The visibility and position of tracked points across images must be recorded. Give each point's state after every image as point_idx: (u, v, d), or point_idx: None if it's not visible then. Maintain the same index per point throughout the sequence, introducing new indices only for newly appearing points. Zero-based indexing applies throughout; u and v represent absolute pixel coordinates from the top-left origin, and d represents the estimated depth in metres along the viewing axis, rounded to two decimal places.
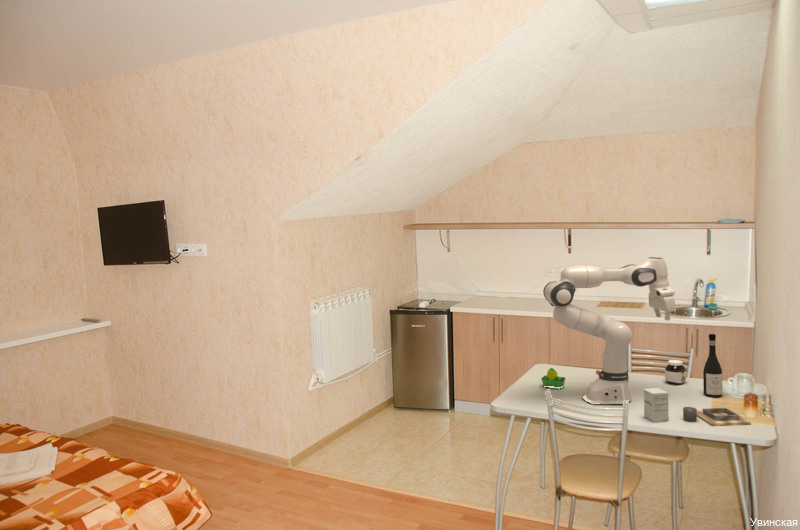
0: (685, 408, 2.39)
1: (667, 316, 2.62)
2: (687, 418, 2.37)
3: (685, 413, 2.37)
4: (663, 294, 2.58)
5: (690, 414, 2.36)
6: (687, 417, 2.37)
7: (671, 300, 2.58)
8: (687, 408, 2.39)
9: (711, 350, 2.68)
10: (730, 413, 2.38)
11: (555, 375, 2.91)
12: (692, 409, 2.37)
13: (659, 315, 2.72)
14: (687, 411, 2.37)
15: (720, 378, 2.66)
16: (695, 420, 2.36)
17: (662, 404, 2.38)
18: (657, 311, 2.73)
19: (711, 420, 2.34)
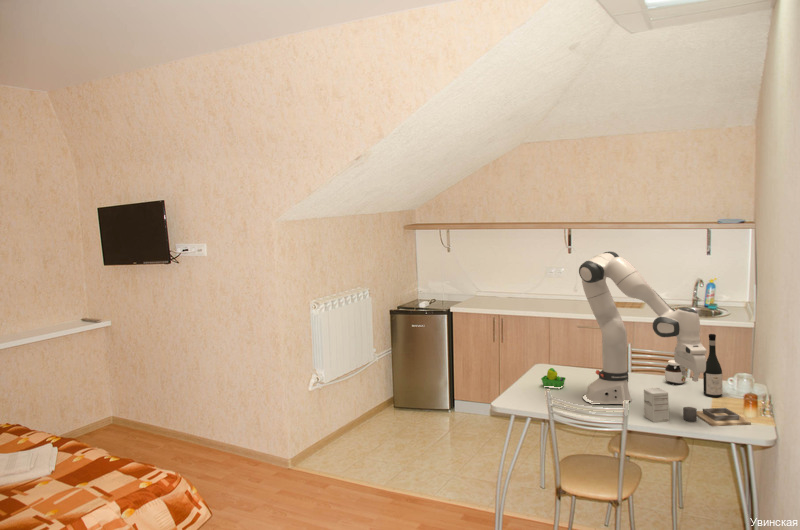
0: (685, 408, 2.39)
1: (695, 377, 2.32)
2: (687, 418, 2.37)
3: (685, 413, 2.37)
4: (694, 352, 2.28)
5: (690, 414, 2.36)
6: (687, 418, 2.37)
7: (702, 360, 2.27)
8: (687, 408, 2.39)
9: (711, 350, 2.68)
10: (730, 413, 2.38)
11: (555, 375, 2.91)
12: (692, 409, 2.37)
13: (685, 373, 2.41)
14: (687, 411, 2.37)
15: (720, 378, 2.66)
16: (695, 420, 2.36)
17: (662, 404, 2.38)
18: (683, 369, 2.42)
19: (711, 420, 2.34)
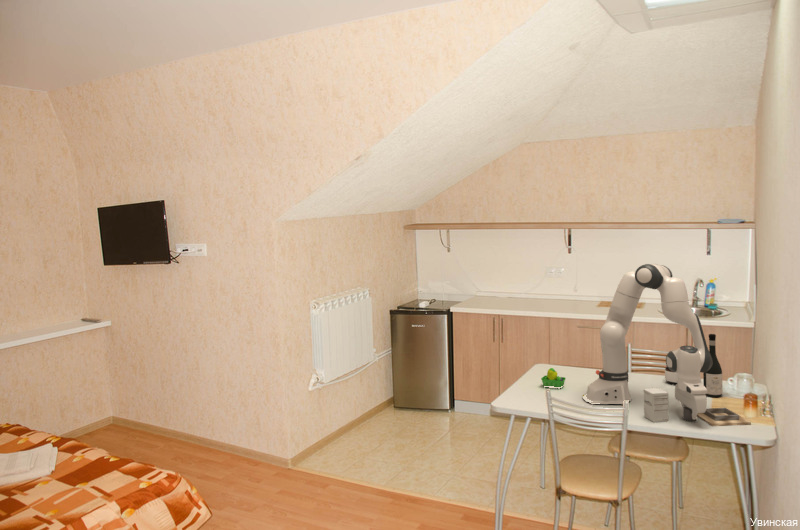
0: (685, 408, 2.39)
1: (694, 415, 2.34)
2: (687, 418, 2.37)
3: (685, 413, 2.37)
4: (694, 392, 2.29)
5: (690, 414, 2.36)
6: (687, 417, 2.37)
7: (703, 400, 2.28)
8: (687, 408, 2.39)
9: (711, 350, 2.68)
10: (730, 413, 2.38)
11: (555, 375, 2.91)
12: None
13: None
14: (687, 411, 2.37)
15: (720, 378, 2.66)
16: (695, 420, 2.36)
17: (662, 404, 2.38)
18: None
19: (711, 420, 2.34)
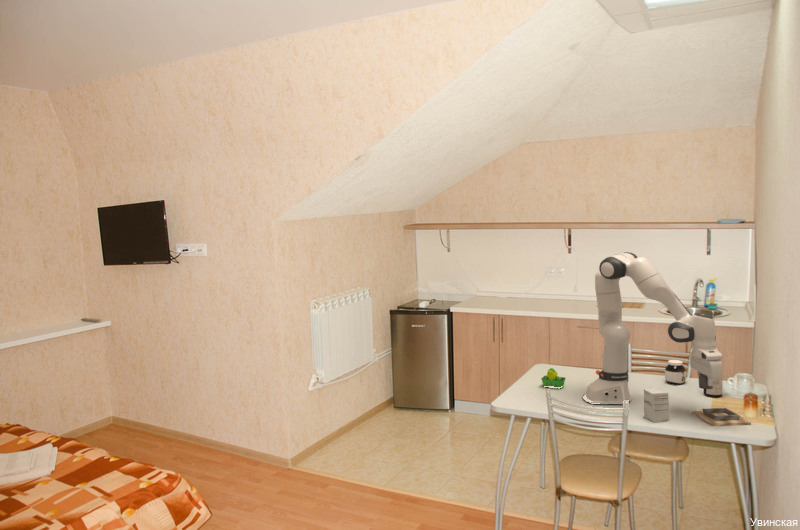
0: (700, 375, 2.37)
1: (710, 381, 2.32)
2: (703, 385, 2.35)
3: (701, 380, 2.36)
4: (709, 358, 2.28)
5: (706, 381, 2.34)
6: (703, 384, 2.35)
7: (718, 365, 2.27)
8: (703, 375, 2.37)
9: None
10: (730, 413, 2.38)
11: (555, 375, 2.91)
12: None
13: None
14: (703, 378, 2.35)
15: (720, 378, 2.66)
16: (711, 387, 2.35)
17: (662, 404, 2.38)
18: None
19: (711, 420, 2.34)
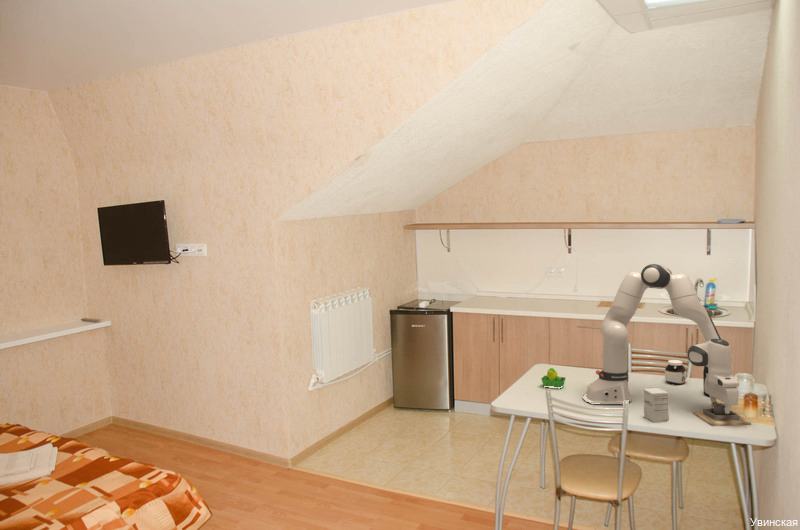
0: (715, 404, 2.39)
1: (727, 409, 2.32)
2: (718, 415, 2.36)
3: (716, 409, 2.37)
4: (726, 385, 2.29)
5: (721, 410, 2.36)
6: (718, 414, 2.36)
7: (735, 392, 2.28)
8: (718, 404, 2.38)
9: None
10: (730, 413, 2.38)
11: (555, 375, 2.91)
12: (723, 405, 2.37)
13: None
14: (718, 407, 2.36)
15: None
16: None
17: (662, 404, 2.38)
18: (713, 399, 2.43)
19: (711, 420, 2.34)
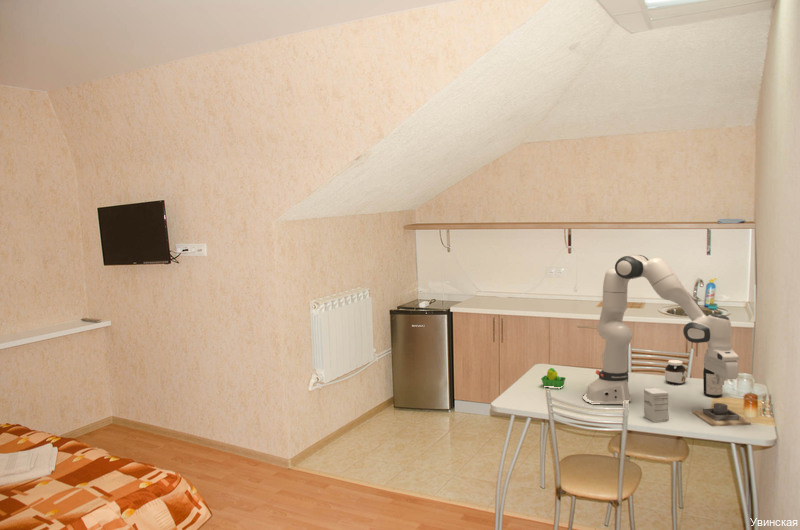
0: (716, 404, 2.39)
1: (721, 380, 2.36)
2: (718, 415, 2.36)
3: (716, 409, 2.37)
4: (726, 358, 2.28)
5: (721, 410, 2.36)
6: (718, 414, 2.36)
7: (734, 366, 2.27)
8: (718, 404, 2.38)
9: None
10: (730, 413, 2.38)
11: (555, 375, 2.91)
12: (723, 405, 2.37)
13: None
14: (718, 407, 2.36)
15: None
16: None
17: (662, 404, 2.38)
18: (718, 377, 2.39)
19: (711, 420, 2.34)
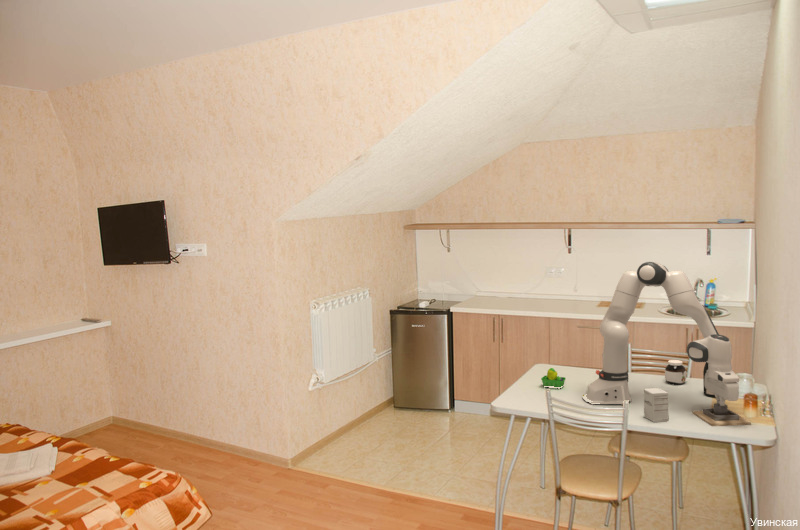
0: (716, 404, 2.39)
1: (722, 401, 2.36)
2: (718, 415, 2.36)
3: (716, 409, 2.37)
4: (726, 380, 2.29)
5: (721, 410, 2.36)
6: (718, 414, 2.36)
7: (735, 388, 2.28)
8: None
9: None
10: (730, 413, 2.38)
11: (555, 375, 2.91)
12: None
13: None
14: (718, 407, 2.36)
15: None
16: None
17: (662, 404, 2.38)
18: (718, 398, 2.39)
19: (711, 420, 2.34)
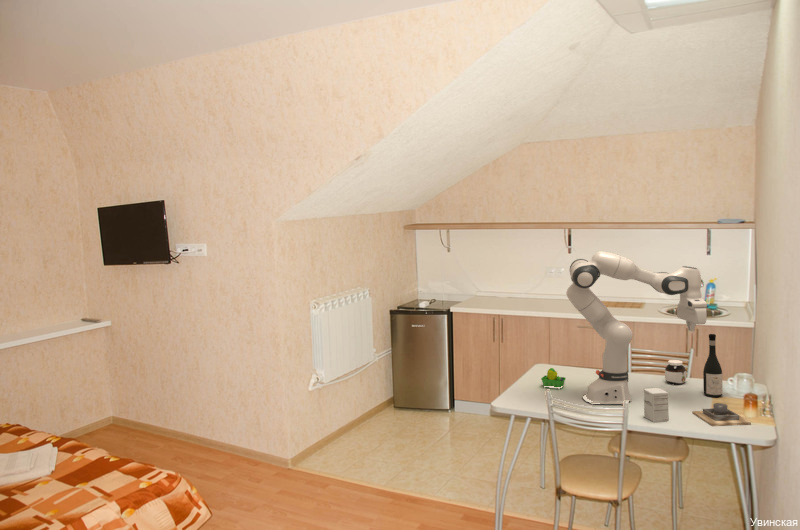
0: (715, 404, 2.39)
1: (692, 327, 2.56)
2: (718, 415, 2.36)
3: (716, 409, 2.37)
4: (695, 305, 2.49)
5: (721, 410, 2.36)
6: (718, 414, 2.36)
7: (703, 312, 2.48)
8: (717, 404, 2.38)
9: (711, 350, 2.68)
10: (730, 413, 2.38)
11: (555, 375, 2.91)
12: (723, 405, 2.37)
13: None
14: (718, 407, 2.36)
15: (720, 378, 2.66)
16: None
17: (662, 404, 2.38)
18: (689, 324, 2.59)
19: (711, 420, 2.34)
